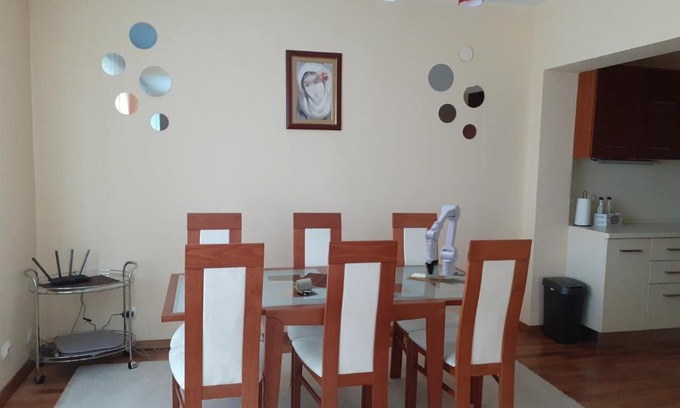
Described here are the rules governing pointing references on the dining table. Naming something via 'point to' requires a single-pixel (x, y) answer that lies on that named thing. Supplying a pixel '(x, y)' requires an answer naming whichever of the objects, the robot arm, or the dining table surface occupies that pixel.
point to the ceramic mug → (303, 285)
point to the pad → (418, 275)
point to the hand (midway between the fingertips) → (431, 273)
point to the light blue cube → (435, 272)
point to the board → (428, 279)
